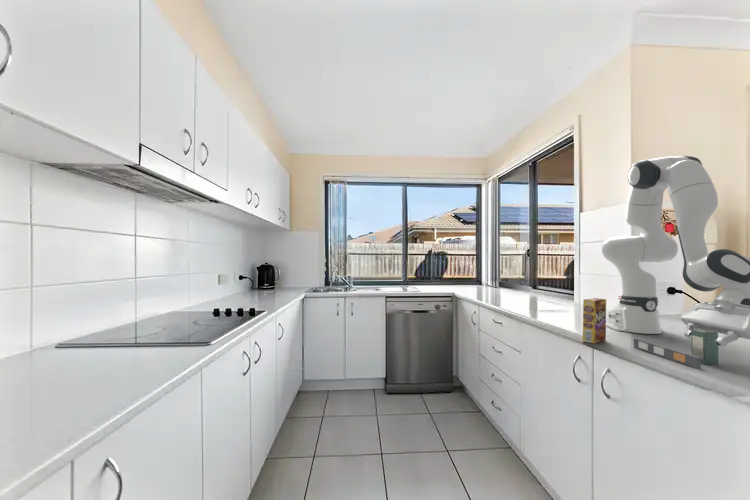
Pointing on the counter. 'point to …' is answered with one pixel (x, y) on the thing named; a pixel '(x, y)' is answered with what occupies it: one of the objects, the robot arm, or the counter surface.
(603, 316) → the candy box
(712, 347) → the tea tin
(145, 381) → the counter surface
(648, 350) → the rail
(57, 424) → the counter surface
